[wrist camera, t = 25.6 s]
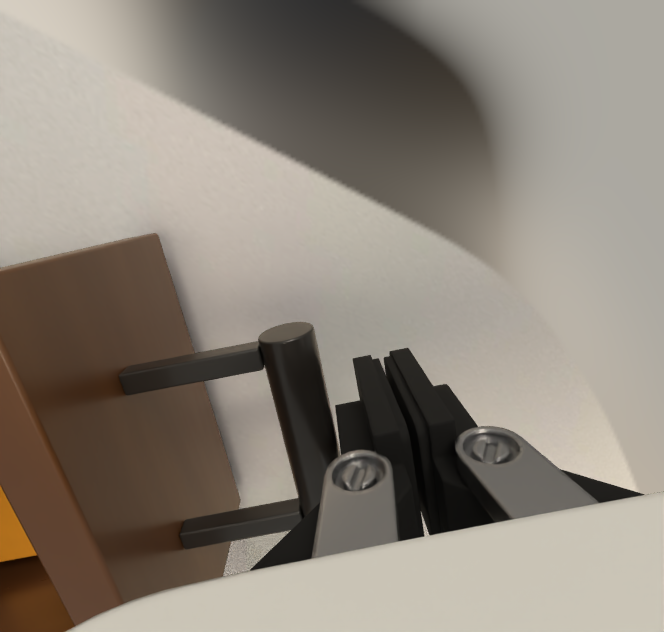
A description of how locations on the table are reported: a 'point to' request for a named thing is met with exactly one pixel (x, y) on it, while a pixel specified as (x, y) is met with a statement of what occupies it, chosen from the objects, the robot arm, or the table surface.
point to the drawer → (131, 434)
